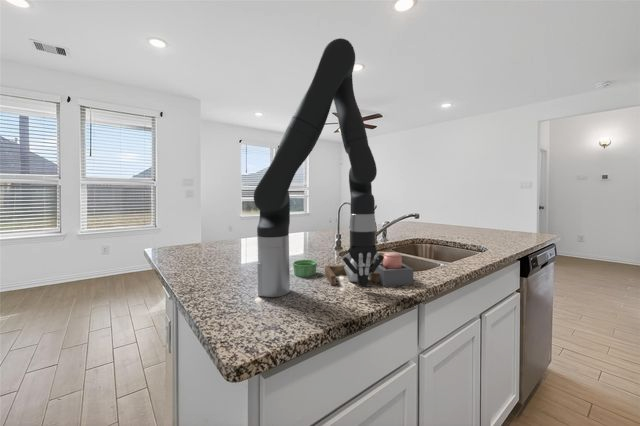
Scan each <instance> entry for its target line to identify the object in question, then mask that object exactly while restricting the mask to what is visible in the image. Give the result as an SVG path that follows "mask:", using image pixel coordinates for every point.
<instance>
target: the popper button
mask: <svg viewBox="0 0 640 426" xmlns="http://www.w3.org/2000/svg"><path fill="white" fill-rule="evenodd" d="M382 256H384V259H383V260H382V263H383V267H384V268H385V269H401V268H402V263H403V262H402V259H403V258H402V255H401V253H398V252H394V251H393V252H384V254H383V255H382Z"/></svg>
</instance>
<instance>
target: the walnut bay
mask: <svg viewBox="0 0 640 426" xmlns="http://www.w3.org/2000/svg"><path fill="white" fill-rule="evenodd" d="M345 266H346V264H337V265H335V264H334V265H333V264H332V265H326V266H325V267H324V276H325V277H326V279H327V280H328V282H329V283H330V286H337V275H347V274H346V272H345V269H344V267H345ZM368 279H370V280H371V281H372V282H373V283H375V284H377V283H379V273H378V272H376V271H374V272H373V273H371V275H370V276H369V277H368ZM379 284H380V283H379Z"/></svg>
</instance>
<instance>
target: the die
mask: <svg viewBox="0 0 640 426" xmlns="http://www.w3.org/2000/svg"><path fill="white" fill-rule="evenodd" d="M350 262H351V264H352V265H353V266H354V267H355V269H357V267H356V262H355V261H354V260H353V258H352V257H351V261H350ZM345 265H346V264H345ZM344 269H345V272H346V274H345V275H346V276H347V279H348V281H349V282H351V283H357V274H354V273H353V272H352V271H351V270H350V268H349V267H348V266H347V265H346V266H345V267H344ZM370 275H371V273H369V274H368V278H369V276H370Z"/></svg>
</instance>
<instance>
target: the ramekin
mask: <svg viewBox="0 0 640 426" xmlns="http://www.w3.org/2000/svg"><path fill="white" fill-rule="evenodd" d="M317 265H318V262H317V261H316V260H314V259H313V260H312V259H300V260H295V261H293V262H292V266H293V274H294V276H296V277H300V278H308V277H312V276H313V277H314V276H315V275H316V274H317Z"/></svg>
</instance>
